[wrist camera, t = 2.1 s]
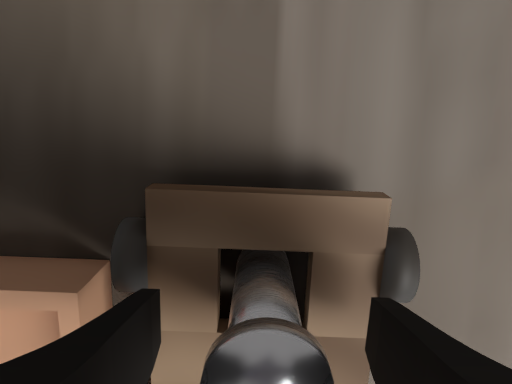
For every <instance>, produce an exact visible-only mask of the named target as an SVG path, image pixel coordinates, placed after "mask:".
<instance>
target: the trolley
mask: <svg viewBox="0 0 512 384" xmlns="http://www.w3.org/2000/svg"><path fill="white" fill-rule="evenodd" d="M391 203H392V198H390V197H389V196H387V195H386V194H384V193H383V192H361V191H336V190H311V189H286V188H261V187H236V186H211V185H186V184H161V183H152V184H151V185H150V186H148V187H147V188H145V208H146V218H138V217H126V218H124V219H123V220H122V221H121V223H120V224H119V226H118V228H117V230H116V233H115V236H114V240H113V244H112V250H111V262H110V267H111V278H112V282H113V285H114V287H115V289H116V290H117V291H119V292H136V291H138V290H140V289H142V288H146V289H160V311H161V345H160V348H159V352H158V355H157V359H156V362H155V365H154V368H153V371H152V374H151V384H200V381H201V377H202V372H203V367H204V363H205V358H206V355H207V353H208V351H209V349H210V347H211V345H212V344H213V342H214V341H215V340H216V339H217V338H218V337H219V336H220V335H221V334H222V333H223V332H224V331H226V330H227V329H228V323H229V319H223V318H219V317H220V263H221V249H247V250H272V251H298V252H309V257H308V270H307V282H306V295H305V308H304V321H303V322H302V321H301V324H302V327H303V328H305V329H306V330H308V331H309V332H310V333H311V334H312V335H314V336H315V338H316V339H317V340H318V341H319V342H320V344H321V345H322V347H323V349H324V351H325V353H326V355H327V359H328V362H329V366H330V369H331V373H332V377H333V380H334V384H368V379H369V371H370V366H369V363H368V359H367V356H366V352H365V344H366V336H367V328H368V320H369V312H370V305H371V297H382V298H391V299H393V300H395V301H396V302H401V303H407V302H410V301H411V300H412V299H413V298H414V296H415V295H416V292H417V289H418V285H419V279H420V259H419V253H418V248H417V245H416V242H415V240H414V237H413V236H412V234H411V233H410V231H408V230H407V229H406V228H392V227H388V226H389V218H390V210H391Z"/></svg>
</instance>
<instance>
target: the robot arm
mask: <svg viewBox="0 0 512 384" xmlns="http://www.w3.org/2000/svg"><path fill="white" fill-rule="evenodd" d="M160 345H161V311H160V289H146V288H142V289H140V290H138V291H136V292H135V293H133V294H132V295H130V296H129V297H127V298H126V299H124V300H123V301H121V302H120V303H118V304H117V305H115V306H114V307H112V308H110V309H109V310H107V311H106V312H104V313H103V314H101V315H100V316H98V317H96V318H95V319H93V320H91V321H90V322H88V323H86V324H85V325H83V326H81V327H79V328H78V329H76V330H74V331H73V332H71V333H69V334H67V335H65V336H63V337H61V338H59V339H57V340H55V341H53V342H51V343H49V344H47V345H45V346H43V347H41V348H38V349H36V350H34V351H31V352H29V353H27V354H24V355H22V356H19V357H17V358H14V359H12V360H9V361H7V362H4V363H2V364H0V384H147V383H148V381H149V378H150V376H151V374H152V371H153V368H154V365H155V362H156V359H157V355H158V352H159V348H160ZM365 352H366V356H367V359H368V363H369V366H370V369H371V373H372V376H373V379H374V381H375V383H376V384H512V369H510V368H508V367H506V366H504V365H502V364H500V363H498V362H496V361H494V360H492V359H490V358H488V357H486V356H484V355H482V354H480V353H478V352H476V351H475V350H473V349H471V348H469V347H468V346H466V345H464V344H462V343H461V342H459V341H457V340H456V339H454V338H452V337H451V336H449V335H447V334H446V333H444V332H443V331H441V330H439V329H438V328H436V327H435V326H433V325H432V324H430V323H429V322H427V321H425V320H424V319H422V318H421V317H419V316H418V315H416V314H415V313H413V312H412V311H410V310H409V309H407V308H406V307H404V306H403V305H401V304H400V303H398V302H396V301H395V300H393V299H391V298H382V297H371V305H370V312H369V320H368V328H367V336H366V344H365Z"/></svg>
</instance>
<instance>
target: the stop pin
mask: <svg viewBox="0 0 512 384" xmlns="http://www.w3.org/2000/svg"><path fill="white" fill-rule="evenodd" d="M200 384H334V380H333V377H332V373H331V369H330V366H329V362H328V359H327V355H326V353H325V351H324V349H323V347H322V345H321V344H320V342H319V341H318V340H317V339H316V338H315V336H314V335H312V334H311V333H310V332H309V331H308V330H306V329H305V328H303V327H302V324H301V319H300V314H299V309H298V305H297V300H296V295H295V290H294V285H293V280H292V275H291V271H290V266H289V261H288V257H287V255H286V253H285V252H284V251H272V250H247V249H243V250H242V252H241V253H240V255H239V257H238V260H237V265H236V273H235V280H234V287H233V294H232V302H231V309H230V316H229V323H228V329H227V330H226V331H224V332H223V333H222V334H221V335H220V336H219V337H218V338H217V339H216V340H215V341H214V342H213V344H212V345H211V347H210V349H209V351H208V353H207V355H206V358H205V363H204V367H203V372H202V377H201V381H200Z"/></svg>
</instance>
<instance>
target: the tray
mask: <svg viewBox="0 0 512 384" xmlns="http://www.w3.org/2000/svg"><path fill="white" fill-rule="evenodd" d="M112 307H113V304H112V287H111V269H110V260H95V259H69V258H43V257H18V256H0V364H2V363H4V362H7V361H9V360H12V359H14V358H17V357H19V356H22V355H24V354H27V353H29V352H31V351H34V350H36V349H38V348H41V347H43V346H45V345H47V344H49V343H51V342H53V341H55V340H57V339H59V338H61V337H63V336H65V335H67V334H69V333H71V332H73V331H74V330H76V329H78V328H79V327H81V326H83V325H85V324H86V323H88V322H90V321H91V320H93V319H95V318H96V317H98V316H100V315H101V314H103V313H104V312H106V311H107V310H109V309H110V308H112Z"/></svg>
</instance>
